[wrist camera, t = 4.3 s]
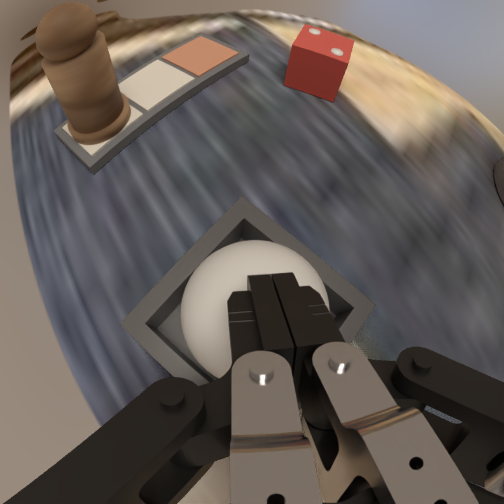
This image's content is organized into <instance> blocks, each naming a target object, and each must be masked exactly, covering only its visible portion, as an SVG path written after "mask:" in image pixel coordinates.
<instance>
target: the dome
mask: <svg viewBox="0 0 504 504" xmlns="http://www.w3.org/2000/svg"><path fill="white" fill-rule="evenodd" d="M287 272H293V273H294V275H295V277H296V279H297V282H298V284H299V286H311V287H312V288H313V289H315V290H316V291H317V292H319V293H320V295H321V296H322V298H323V300H324V302H325V305H326V306H327V308H328V310H329V301H328V296H327V292H326V289H325V287H324V284H323V282H322V280H321V278H320V276H319V275H318V273H317V272H316V270H315V269H314V268H313V267H312V266H311V264H310V263H309V262H308V261H307V260H306V259H304V258H303V257H302V256H301V255H299V254H298V253H297V252H295V251H293V250H292V249H290V248H288V247H286V246H283V245H281V244H278V243H274V242H270V241H263V240H248V241H241V242H237V243H233V244H230V245H228V246H225V247H223V248H221V249H219V250H217V251H215V252H214V253H213V254H211V255H210V256H208V257H207V258H206V259H205V260H204V261H203V262H202V263H201V264H200V265H199V266H198V267H197V268H196V270H195V271H194V272H193V274H192V276H191V277H190V279H189V281H188V283H187V285H186V288H185V291H184V294H183V297H182V303H181V316H180V318H181V327H182V331H183V335H184V338H185V341H186V343H187V345H188V347H189V349H190V351H191V353H192V354H193V356H194V357H195V358H196V360H197V361H198V362H199V363H200V364H201V365H202V366H203V367H204V368H205V369H206V370H207V371H208V372H210V373H211V374H212V375H214V376H215V377H217V378H221V377H222V376H223V375H224V374H225V373H226V372H227V371H228V370H229V369H230V367H231V364H232V358H231V348H230V338H229V324H228V309H227V300H228V299H229V297H230V295H231V294H232V292H233V291H247V275H260V274H273V273H287ZM329 311H330V310H329Z"/></svg>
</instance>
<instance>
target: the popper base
mask: <svg viewBox="0 0 504 504" xmlns="http://www.w3.org/2000/svg"><path fill="white" fill-rule="evenodd" d="M248 240H263V241H270V242H274V243H278V244H281V245H283V246H286V247H288V248H290V249H292V250H293V251H295V252H297V253H298V254H299V255H301V256H302V257H303V258H304V259H306V260H307V261H308V262H309V263H310V264H311V266H312V267H313V268H314V269H315V270H316V272H317V273H318V275H319V276H320V278H321V280H322V282H323V284H324V287H325V289H326V292H327V296H328V301H329V310H330V314H331V315H332V317H333V319H334V321H335V323H336V325H337V327H338V328H339V330H340V332H341V334H342V336H343V338H344V340H345V342H346V343H348V344H350V343H351V342H352V340H353V339H354V337H355V336H356V334H357V333H358V332H359V330H360V329H361V327H362V326H363V324H364V323H365V321H366V320H367V318H368V317H369V315H370V314H371V312H372V310H373V309H374V307H375V306H376V304H375V303H374V302H372V301H371V300H370V299H369V298H368V297H366V296H365V295H364V294H363V293H362V292H361V291H359V290H358V289H357V288H356V287H355V286H353V285H352V284H351V283H350V282H349V281H347V280H346V279H345V278H344V277H343V276H341V275H340V274H339V273H338V272H337V271H335V270H334V269H333V268H332V267H331V266H329V265H328V264H327V263H326V262H324V261H323V260H322V259H321V258H320V257H318V256H317V255H316V254H315V253H313V252H312V251H311V250H310V249H308V248H307V247H306V246H305V245H303V244H302V243H301V242H300V241H299V240H297V239H296V238H295V237H294V236H292V235H291V234H290V233H288V232H287V231H286V230H285V229H283V228H282V227H281V226H280V225H278V224H277V223H276V222H275V221H273V220H272V219H271V218H270V217H268V216H267V215H266V214H264V213H263V212H262V211H261V210H259V209H258V208H257V207H255V206H254V205H253V204H252V203H250V202H249V201H248V200H246V199H245V198H244V197H241V198H240V199H239V200H238V201H237V202H236V203H235V204H234V205H233V206H232V207H231V208H230V209H229V210H228V211H227V212H226V213H225V214H224V215H223V216H222V217H221V218H220V219H219V220H218V221H217V222H216V223H215V224H214V225H213V226H212V227H211V228H210V229H209V230H208V231H207V232H206V233H205V234H204V235H203V236H202V237H201V238H200V239H199V240H198V241H197V242H196V243H195V244H194V245H193V246H192V247H191V248H190V249H189V250H188V251H187V252H186V253H185V254H184V255H183V256H182V258H181V259H180V260H179V261H178V262H177V263H176V264H175V265H174V266H173V267H172V268H171V269H170V270H169V271H168V272H167V273H166V274H165V275H164V276H163V278H162V279H161V280H160V281H159V282H158V283H157V284H156V285H155V286H154V287H153V288H152V289H151V290H150V291H149V293H148V294H147V295H146V296H145V297H144V298H143V299H142V300H141V301H140V302H139V303H138V304H137V306H136V307H135V308H134V309H133V310H132V311H131V312H130V313H129V314H128V315H127V317H126V318H125V319H124V320H123V321H122V322H121V323H120V324H121V325H122V327H123V328H124V329H125V330H126V331H127V332H128V333H129V334H130V335H131V336H132V337H133V338H134V339H135V340H136V341H137V342H138V343H139V344H140V345H141V346H142V347H143V348H144V349H145V350H146V351H147V352H148V353H149V354H150V355H151V356H152V357H153V358H154V359H155V360H157V361H158V362H159V363H160V364H161V365H162V366H163V367H164V368H165V369H166V370H167V371H168V372H169V373H171V374H172V375H173V376H174V377H180V378H185V379H188V380H190V381H192V382H194V383H195V384H197V385H198V386H200V385H204V384H207V383H210V382H212V381H215V380H217V379H219V378H217V377H215V376H214V375H212V374H211V373H210V372H208V371H207V370H206V369H205V368H204V367H203V366H202V365H201V364H200V363H199V362H198V361H197V360H196V358H195V357H194V356H193V354H192V353H191V351H190V349H189V347H188V345H187V343H186V341H185V338H184V335H183V331H182V327H181V318H180V316H181V303H182V297H183V294H184V291H185V288H186V285H187V283H188V281H189V279H190V277H191V276H192V274H193V272H194V271H195V270H196V268H197V267H198V266H199V265H200V264H201V263H202V262H203V261H204V260H205V259H206V258H207V257H208V256H210V255H211V254H213V253H214V252H215V251H217V250H219V249H221V248H223V247H225V246H228V245H230V244H233V243H237V242H241V241H248ZM297 404H298V410H300V408H301V404H300V402H297Z"/></svg>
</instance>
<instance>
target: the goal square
mask: <svg viewBox="0 0 504 504" xmlns="http://www.w3.org/2000/svg"><path fill="white" fill-rule="evenodd" d="M238 54H239V52H237V51H234V50H232V49H230V48H228V47H226V46H223V45H221V44H219V43H217V42H214V41H212V40H210V39H207V38H205V37H202V36H200V37H198V38H196V39H194V40H192V41H190V42H188V43H186V44H184V45H182V46H180V47H179V48H177V49H175V50H173V51H171V52H170V53H168V54H166V55H164V56H163V57H162V59H164V60H166V61H168V62H170V63H172V64H174V65H176V66H178V67H180V68H182V69H184V70H186V71H188V72H190V73H192V74H194V75H195V76H197V77H200V76H202V75H203V74H205V73H207V72H208V71H210V70H212V69H213V68H215V67H217V66H218V65H220V64H222V63H224V62H225V61H227V60H229V59H231V58H233V57H234V56H236V55H238Z"/></svg>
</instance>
